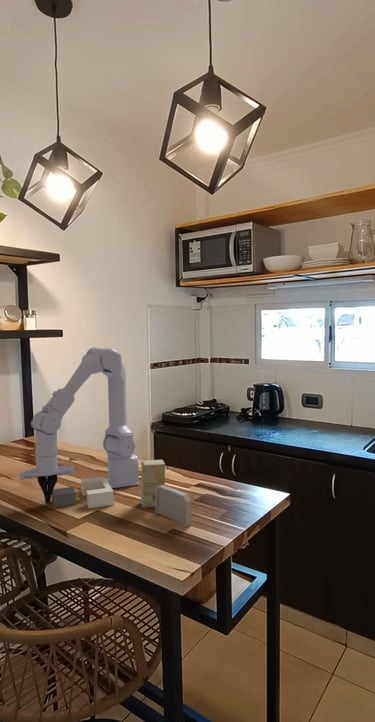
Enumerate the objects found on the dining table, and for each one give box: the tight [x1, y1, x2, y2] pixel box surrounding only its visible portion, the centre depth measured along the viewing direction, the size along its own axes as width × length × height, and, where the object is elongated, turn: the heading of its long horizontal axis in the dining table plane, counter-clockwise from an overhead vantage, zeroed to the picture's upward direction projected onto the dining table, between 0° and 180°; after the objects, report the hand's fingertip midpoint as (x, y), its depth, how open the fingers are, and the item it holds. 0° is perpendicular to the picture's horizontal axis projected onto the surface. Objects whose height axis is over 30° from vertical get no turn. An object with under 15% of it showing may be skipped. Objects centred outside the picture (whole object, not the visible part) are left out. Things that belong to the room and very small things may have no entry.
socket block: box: [80, 476, 115, 509], centre depth 131 cm, size 7×13×4 cm, turn 22°
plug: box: [51, 486, 81, 509], centre depth 127 cm, size 7×5×4 cm
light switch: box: [154, 484, 192, 528], centre depth 117 cm, size 2×12×8 cm, turn 45°
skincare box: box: [140, 459, 166, 508], centre depth 126 cm, size 6×4×12 cm
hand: (47, 501), depth 126 cm, fingers closed
